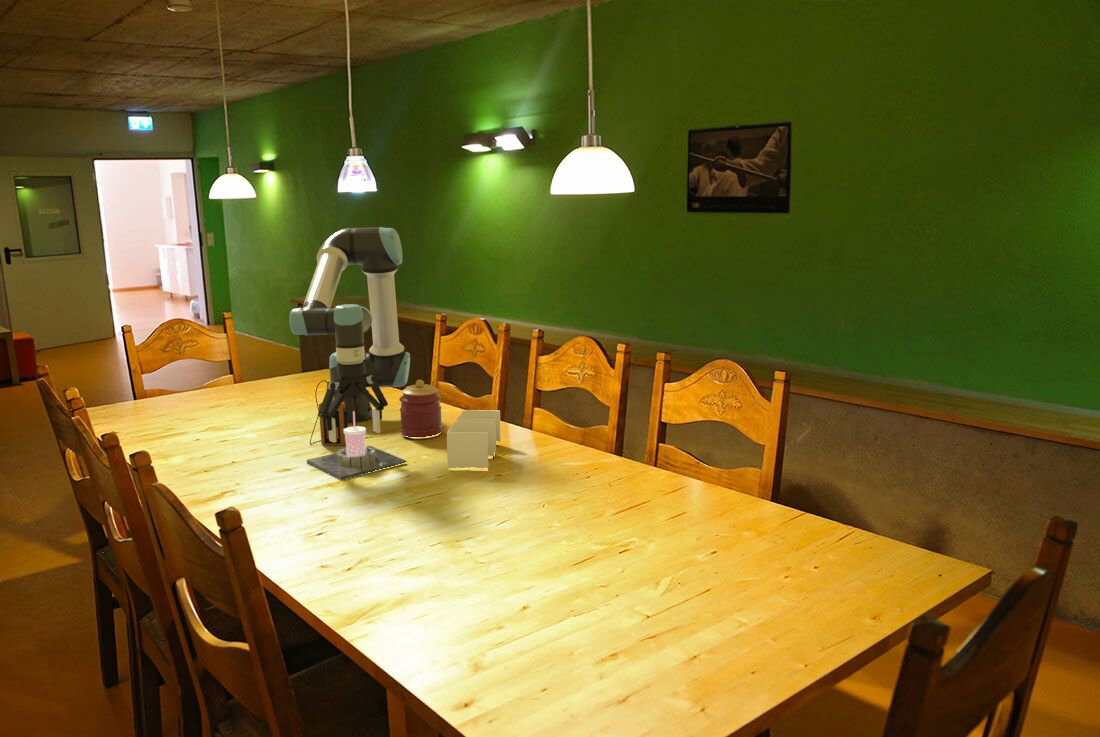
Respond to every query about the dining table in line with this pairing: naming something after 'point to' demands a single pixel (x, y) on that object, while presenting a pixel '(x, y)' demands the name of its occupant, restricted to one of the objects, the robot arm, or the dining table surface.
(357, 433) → the beverage cup
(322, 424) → the multimeter
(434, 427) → the canister
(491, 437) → the desk organizer
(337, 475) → the cup holder
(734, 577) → the dining table surface
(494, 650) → the dining table surface
